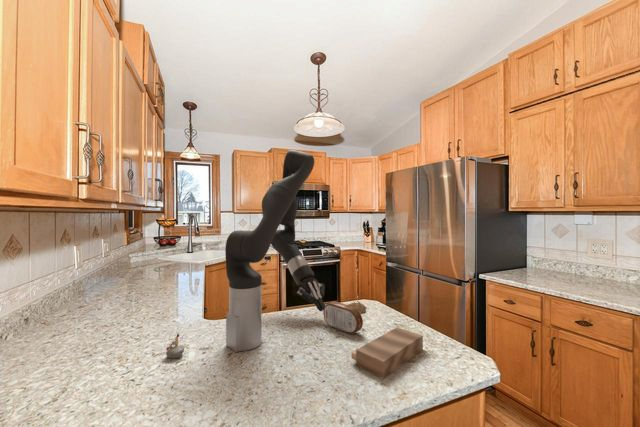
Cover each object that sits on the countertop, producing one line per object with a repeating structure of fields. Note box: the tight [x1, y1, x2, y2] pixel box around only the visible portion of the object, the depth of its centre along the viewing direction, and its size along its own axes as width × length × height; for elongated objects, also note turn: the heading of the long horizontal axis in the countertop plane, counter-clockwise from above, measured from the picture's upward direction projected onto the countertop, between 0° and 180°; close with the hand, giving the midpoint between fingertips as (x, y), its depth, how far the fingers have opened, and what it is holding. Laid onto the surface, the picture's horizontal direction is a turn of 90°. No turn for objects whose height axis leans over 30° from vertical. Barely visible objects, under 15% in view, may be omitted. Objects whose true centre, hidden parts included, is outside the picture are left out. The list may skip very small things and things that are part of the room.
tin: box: [322, 300, 364, 335], centre depth 92 cm, size 15×3×8 cm, turn 47°
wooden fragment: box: [347, 300, 367, 314], centre depth 109 cm, size 26×11×1 cm, turn 155°
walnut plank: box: [350, 326, 424, 380], centre depth 74 cm, size 20×10×4 cm, turn 134°
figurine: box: [165, 333, 185, 360], centre depth 75 cm, size 5×4×6 cm
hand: (323, 309), depth 98 cm, fingers closed
